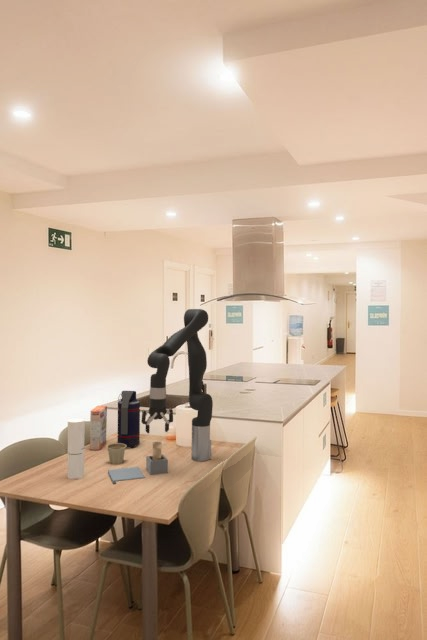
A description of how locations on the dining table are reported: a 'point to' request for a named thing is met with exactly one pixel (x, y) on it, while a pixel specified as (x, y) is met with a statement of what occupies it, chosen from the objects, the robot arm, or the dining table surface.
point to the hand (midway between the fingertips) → (157, 432)
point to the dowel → (157, 450)
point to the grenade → (129, 419)
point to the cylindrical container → (75, 449)
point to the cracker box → (98, 427)
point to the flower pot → (116, 452)
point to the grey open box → (156, 465)
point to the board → (125, 474)
